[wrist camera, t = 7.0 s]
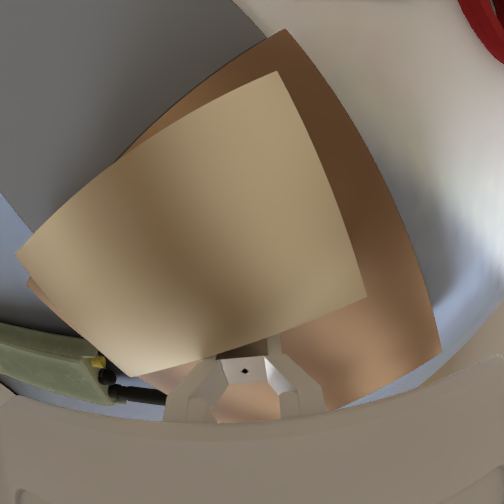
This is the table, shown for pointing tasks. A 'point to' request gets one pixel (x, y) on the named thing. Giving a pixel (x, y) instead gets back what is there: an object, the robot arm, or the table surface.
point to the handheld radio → (65, 367)
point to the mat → (98, 84)
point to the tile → (200, 237)
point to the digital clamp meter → (487, 24)
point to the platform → (362, 240)
